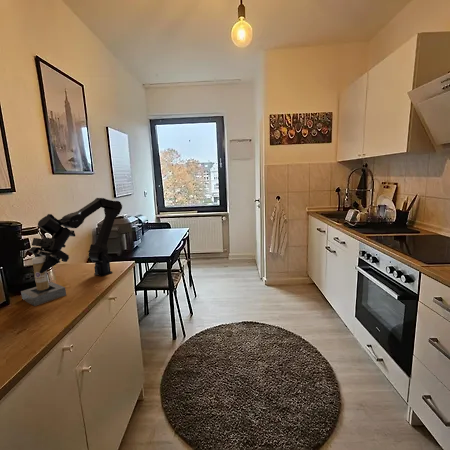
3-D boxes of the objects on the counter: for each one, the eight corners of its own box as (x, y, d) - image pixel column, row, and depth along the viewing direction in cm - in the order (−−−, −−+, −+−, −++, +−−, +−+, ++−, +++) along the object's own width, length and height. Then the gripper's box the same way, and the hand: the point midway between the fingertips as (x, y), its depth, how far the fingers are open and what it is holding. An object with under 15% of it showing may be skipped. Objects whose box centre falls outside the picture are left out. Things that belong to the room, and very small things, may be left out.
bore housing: (53, 289, 127) (51, 282, 127) (66, 295, 120) (65, 287, 120) (22, 299, 118) (20, 291, 117) (34, 306, 111) (33, 297, 110)
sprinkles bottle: (35, 291, 116) (29, 259, 113) (38, 287, 120) (33, 256, 118) (47, 289, 117) (42, 258, 115) (50, 285, 122) (46, 255, 119)
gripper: (30, 228, 122) (6, 260, 114) (57, 230, 114) (33, 265, 106) (51, 242, 130) (29, 272, 123) (78, 245, 122) (57, 278, 114)
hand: (36, 272), depth 116 cm, fingers closed on sprinkles bottle, 4 cm apart
